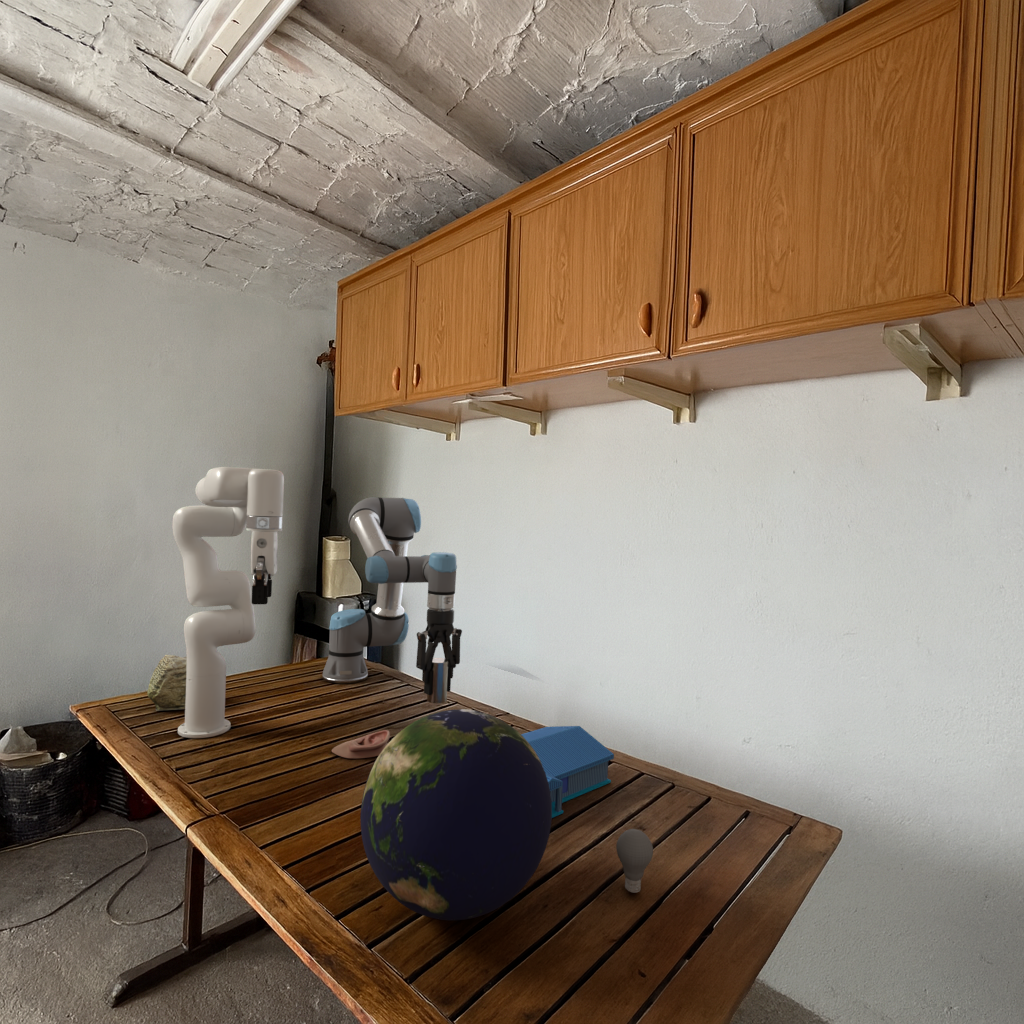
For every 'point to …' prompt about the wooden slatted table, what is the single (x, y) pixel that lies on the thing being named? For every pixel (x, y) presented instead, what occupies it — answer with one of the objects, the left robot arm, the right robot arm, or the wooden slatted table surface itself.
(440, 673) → the can
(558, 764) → the model building
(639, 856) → the light bulb
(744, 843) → the wooden slatted table surface
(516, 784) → the globe
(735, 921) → the wooden slatted table surface
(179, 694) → the fossil
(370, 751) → the anatomical model
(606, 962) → the wooden slatted table surface
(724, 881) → the wooden slatted table surface
